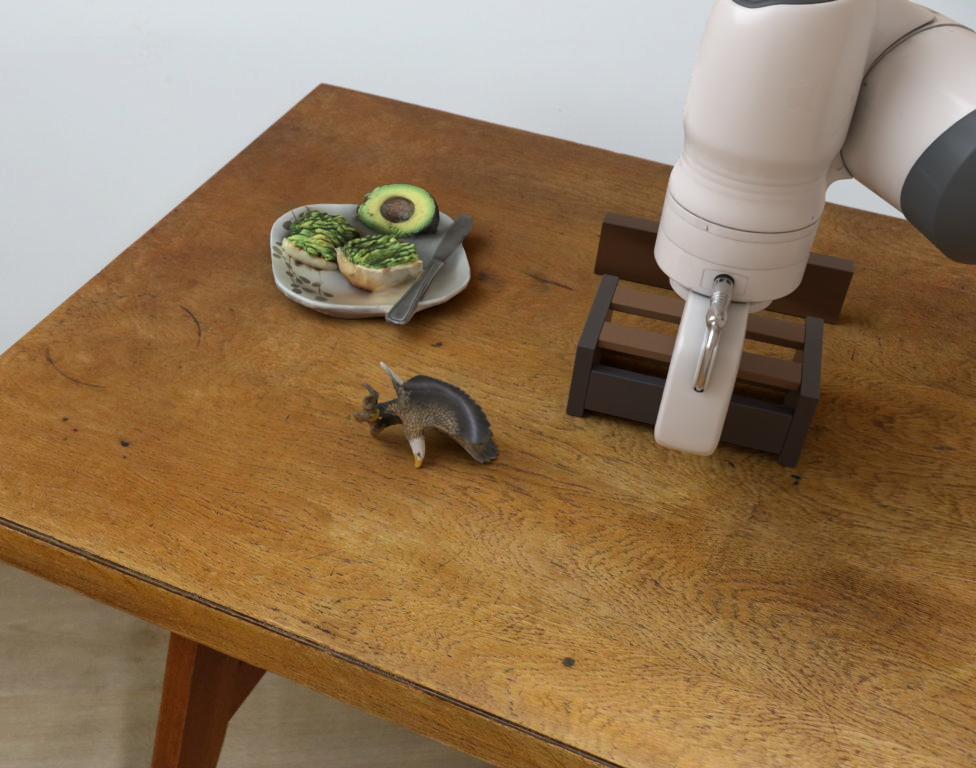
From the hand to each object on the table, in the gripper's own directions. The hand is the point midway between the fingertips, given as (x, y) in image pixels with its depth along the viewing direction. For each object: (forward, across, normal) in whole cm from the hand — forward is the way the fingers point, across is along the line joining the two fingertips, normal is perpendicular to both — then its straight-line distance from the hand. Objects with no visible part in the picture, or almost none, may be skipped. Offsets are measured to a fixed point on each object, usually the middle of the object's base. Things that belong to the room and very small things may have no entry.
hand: (686, 419), depth 74 cm
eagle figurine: (+3, -6, +16) cm, 18 cm away
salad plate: (+3, +15, +28) cm, 32 cm away
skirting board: (+3, +22, 0) cm, 22 cm away
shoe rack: (+3, +6, 0) cm, 7 cm away
